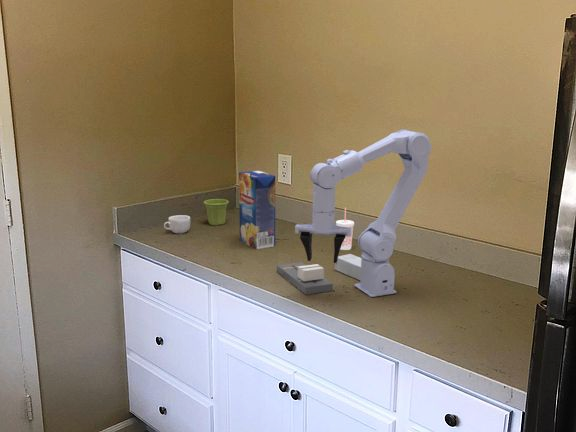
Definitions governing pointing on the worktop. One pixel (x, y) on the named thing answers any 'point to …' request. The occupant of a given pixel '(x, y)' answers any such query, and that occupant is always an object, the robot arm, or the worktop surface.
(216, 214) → the plant pot
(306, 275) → the fader
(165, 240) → the worktop surface
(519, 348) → the worktop surface
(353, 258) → the skincare box
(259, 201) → the juice carton
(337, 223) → the beverage cup
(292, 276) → the mixing panel
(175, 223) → the teacup
